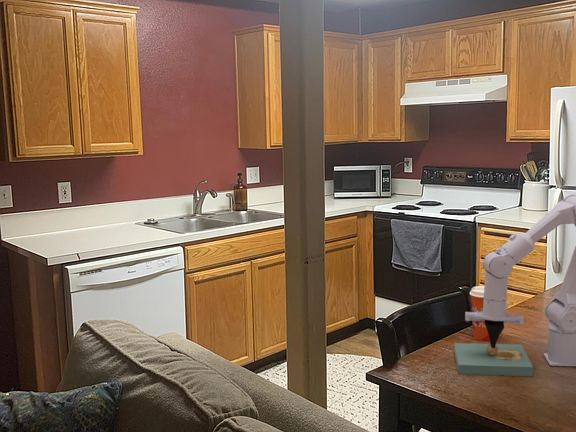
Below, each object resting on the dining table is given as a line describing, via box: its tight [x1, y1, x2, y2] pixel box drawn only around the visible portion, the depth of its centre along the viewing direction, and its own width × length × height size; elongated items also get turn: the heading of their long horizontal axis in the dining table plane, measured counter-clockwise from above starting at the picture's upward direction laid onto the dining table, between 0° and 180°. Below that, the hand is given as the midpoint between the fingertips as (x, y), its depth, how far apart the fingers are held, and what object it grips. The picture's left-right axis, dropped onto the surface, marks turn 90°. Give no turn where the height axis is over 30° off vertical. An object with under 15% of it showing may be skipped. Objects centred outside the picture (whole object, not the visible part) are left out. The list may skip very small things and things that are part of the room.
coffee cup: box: [469, 285, 490, 342], centre depth 182 cm, size 8×8×15 cm
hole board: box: [453, 342, 534, 377], centre depth 164 cm, size 18×16×2 cm
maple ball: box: [486, 343, 498, 355], centre depth 164 cm, size 3×3×3 cm
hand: (492, 348), depth 163 cm, fingers closed, pressing on maple ball
